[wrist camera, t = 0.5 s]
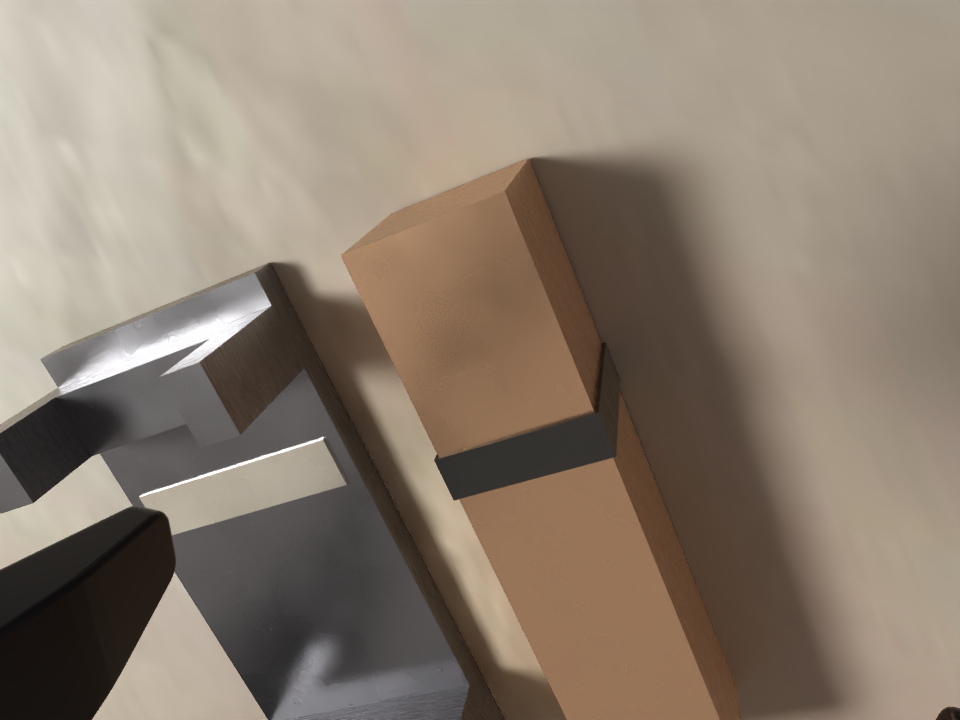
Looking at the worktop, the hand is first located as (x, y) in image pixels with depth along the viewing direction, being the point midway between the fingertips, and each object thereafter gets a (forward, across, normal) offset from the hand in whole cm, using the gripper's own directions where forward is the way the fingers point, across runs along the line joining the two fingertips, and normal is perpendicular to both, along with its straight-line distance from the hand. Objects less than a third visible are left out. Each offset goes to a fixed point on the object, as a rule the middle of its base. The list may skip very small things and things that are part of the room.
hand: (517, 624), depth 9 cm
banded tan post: (+12, 0, +8) cm, 15 cm away
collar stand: (+11, +9, +12) cm, 19 cm away
